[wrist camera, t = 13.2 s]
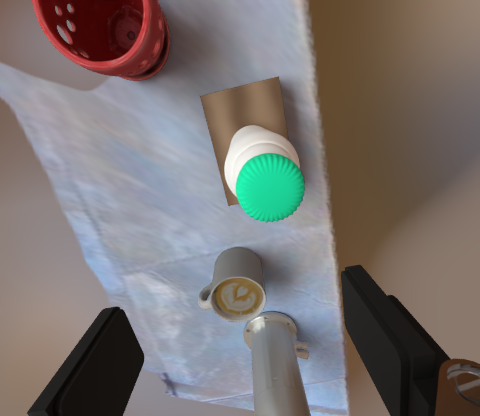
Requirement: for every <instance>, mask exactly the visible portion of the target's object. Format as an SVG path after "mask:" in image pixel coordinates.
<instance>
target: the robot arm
mask: <svg viewBox="0 0 480 416" xmlns="http://www.w3.org/2000/svg"><path fill="white" fill-rule="evenodd" d="M341 280H342V294H343V307H344V319H345V326H346V329H347V331H348V333H349V335H350V337H351V339H352V341H353V343H354V345H355V347H356V349H357V351H358V353H359V355H360V357H361V359H362V361H363V363H364V365H365V367H366V369H367V371H368V372H369V374H370V376H371V378H372V380H373V382H374V384H375V386H376V388H377V390H378V392H379V394H380V396H381V398H382V400H383V402H384V404H385V406H386V408H387V409H388V411H389V413H390V415H391V416H480V364H479V363H476V362H473V361H470V360H466V359H450V358H449V357H448V355H447V354H446V353H445V352H444V351H443V350H442V349H441V347H440V346H439V345H438V344H437V343H436V342H435V341H434V340H433V338H432V337H431V336H430V335H429V334H428V333H427V332H426V331H425V329H424V328H423V327H422V326H421V325H420V324H419V323H418V322H417V320H416V319H415V318H414V317H413V316H412V315H411V314H410V313H409V311H408V310H407V309H406V308H405V307H404V306H403V305H402V304H401V302H400V301H399V300H398V299H397V298H396V297H394V296H393V295H388V296H387V295H386V294H385V293H384V292H383V291H382V290H381V288H380V287H379V286H378V285H377V284H376V282H375V281H374V280H373V279H372V278H371V276H370V275H369V274H368V273H367V272H366V270H365V269H364V268H363V267H362V266H361V265H355V266H349V267H346V268H345V271H342V272H341ZM244 340H245V343H246V344H247V346H248V347H249V348H250V349H251V355H252V374H253V393H254V413H255V416H311V414H310V410H309V406H308V402H307V398H306V394H305V390H304V386H303V382H302V378H301V373H300V369H299V365H298V361H297V357H299V358H303V359H308V357H309V352H308V350H305V349H307V348H308V344H307V343H306V342H300V341H298V339H297V328H296V325H295V323H294V322H293V320H292V319H291V318H289V317H288V316H286V315H284V314H282V313H278V312H265V313H261V314H259V315H258V316H257V317H255V318H253V319H251V320H249V321H248V323H247V324H246V326H245V328H244ZM298 347H300V349H298ZM301 348H303V349H301ZM143 363H144V353H143V351H142V349H141V347H140V345H139V342H138V340H137V338H136V336H135V334H134V331H133V329H132V327H131V325H130V323H129V320H128V318H127V316H126V314H125V312H124V310H123V309H120V308H119V307H111V308H105V309H103V310H102V311H101V312H100V314H99V315H98V316H97V318H96V319H95V320H94V322H93V323H92V325H91V326H90V327H89V329H88V330H87V331H86V333H85V334H84V335H83V337H82V338H81V340H80V341H79V342H78V344H77V345H76V346H75V348H74V349H73V351H72V352H71V353H70V355H69V356H68V357H67V359H66V360H65V361H64V363H63V364H62V366H61V367H60V368H59V370H58V371H57V372H56V374H55V375H54V377H53V378H52V379H51V381H50V382H49V384H48V385H47V386H46V388H45V389H44V390H43V392H42V393H41V394H40V396H39V397H38V399H37V400H36V401H35V403H34V404H33V405H32V407H31V408H30V409H29V411H28V412H27V414H28V415H29V416H123V413H124V411H125V408H126V406H127V403H128V401H129V398H130V396H131V393H132V391H133V388H134V386H135V383H136V381H137V378H138V376H139V373H140V371H141V368H142V366H143Z"/></svg>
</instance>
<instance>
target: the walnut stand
mask: <svg viewBox="0 0 480 416" xmlns="http://www.w3.org/2000/svg"><path fill="white" fill-rule="evenodd" d="M200 98H201V102H202V105H203V109H204V113H205V117H206V121H207V125H208V129H209V132H210V136H211V140H212V144H213V148H214V152H215V156H216V159H217V163H218V167H219V171H220V175H221V179H222V183H223V186H224V190H225V194H226V198H227V202H228V206H230V205H235V204H239V201H238V198H237V197H236V196H235V195H234V194H233V193H232V191H231V190H230V188H229V187H228V184H227V182H226V179H225V173H224V166H225V160H226V157H227V154H228V151H229V148H230V144H231V140H232V138H233V136H234V135H235V133H236V132H237V131H238V130H240V129H241V128H243V127H245V126H249V125H256V126H260V127H263V128H265V129H267V130H269V131H271V132H274V133H276V134H279V135H281V136H282V137H284V138H285V139H287V140H288V133H287V127H286V120H285V114H284V107H283V100H282V94H281V87H280V81H279V77H275V78H271V79H267V80H263V81H259V82H255V83H251V84H247V85H243V86H239V87H235V88H231V89H227V90H223V91H219V92H215V93H211V94H207V95H203V96H200ZM288 141H289V140H288Z"/></svg>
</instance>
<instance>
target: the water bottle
mask: <svg viewBox="0 0 480 416" xmlns="http://www.w3.org/2000/svg"><path fill="white" fill-rule="evenodd" d="M224 173H225V179H226V182H227V184H228V187H229V188H230V190H231V191H232V193H233V194H234V195H235V196H236V197H237V198H238V201H239V204H240V205H241V207H242V208H243V209H244V210H245V212H246V213H248V215H249V216H250V217H253V218H254V219H255V220H257V219H258V220H259V221H264V222H268V221H270V222H273V221H278V220H283V219H284V218H287V217H288V216H289V215H292V214H293V212H294V211H296V210H297V207H299V206H300V202H301V201H302V200H303V196H304V190H305V187H304V184H305V183H304V180H303V175H302V174H301V170H300V164H299V158H298V155H297V153H296V151H295V149H294V147H293V146H292V145H291V143H290V142H289V141H288V140H287V139H285V138H284V137H282V136H281V135H279V134H276V133H274V132H271V131H269V130H267V129H265V128H263V127H260V126H256V125H249V126H245V127H243V128H241V129H240V130H238V131H237V132H236V133H235V135H234V136H233V138H232V140H231V144H230V148H229V151H228V154H227V157H226V160H225V166H224Z"/></svg>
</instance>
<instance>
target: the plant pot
mask: <svg viewBox="0 0 480 416" xmlns="http://www.w3.org/2000/svg"><path fill="white" fill-rule="evenodd" d="M32 2H33V6H34V10H35V13H36V16H37V19H38V21H39V24H40V26H41V28H42V29H43V31H44V33H45V34H46V36H47V38H48V39H49V40H50V42H51V43H52V44H53V45H54V46H55V48H57V49H58V50H59V51H60V52H61V53H62V54H63V55H64V56H65V57H67V58H68V59H70V60H71V61H73V62H74V63H76V64H78V65H80V66H82V67H84V68H86V69H88V70H91V71H93V72H97V73H100V74H104V75H109V76H119V77H122V78H124V79H127V80H133V81H140V80H145V79H148V78H150V77H152V76H154V75H155V74H156V73H158V72H159V71H160V70H161V69H162V67H163V66H164V64H165V62H166V60H167V58H168V55H169V50H170V32H169V28H168V24H167V21H166V19H165V16H164V14H163V13H162V11H161V8H160V5H159V2H158V0H32ZM67 4H70V5H71V8H72V10H71V12H69V11H68V10H67ZM55 5H56V6H57V8H58V11H59V13H58V15H57V13H56V11H55ZM67 20H68V21H69V22H70V23H71V25H72V31H70V30H69V28H68V26H67V23H66V21H67ZM57 25H58V26H59V27H61V29H62V30H63V31H64V33H65V35H66V36H67V38H68V41H69V44H68V43H67V42H66V41H64V40H63V38H62V37H61V36H60V34H59V32H58V30H57ZM83 55H84V56H85V57H84V56H83Z"/></svg>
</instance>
